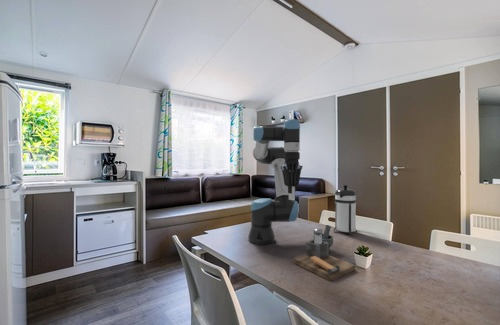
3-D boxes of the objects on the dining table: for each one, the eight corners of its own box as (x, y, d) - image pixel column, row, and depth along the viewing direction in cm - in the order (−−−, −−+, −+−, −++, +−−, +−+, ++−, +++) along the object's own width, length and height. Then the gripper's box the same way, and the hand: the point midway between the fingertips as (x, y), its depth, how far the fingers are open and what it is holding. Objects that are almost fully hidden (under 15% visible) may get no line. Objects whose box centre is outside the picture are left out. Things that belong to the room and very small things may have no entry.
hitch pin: (317, 257, 113) (317, 227, 113) (324, 260, 110) (324, 230, 110) (311, 259, 111) (311, 229, 111) (318, 262, 107) (318, 231, 107)
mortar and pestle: (326, 255, 116) (326, 230, 116) (309, 250, 123) (309, 226, 122) (337, 249, 123) (338, 226, 123) (321, 244, 130) (321, 222, 130)
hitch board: (293, 262, 107) (293, 244, 107) (316, 254, 117) (316, 238, 117) (331, 281, 91) (331, 260, 91) (355, 270, 100) (355, 251, 100)
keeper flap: (309, 259, 102) (309, 257, 102) (315, 257, 104) (315, 255, 104) (331, 273, 93) (331, 271, 93) (337, 270, 95) (338, 268, 95)
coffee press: (364, 235, 145) (364, 186, 145) (337, 235, 145) (337, 186, 145) (352, 227, 163) (352, 183, 162) (328, 227, 163) (328, 183, 162)
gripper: (287, 151, 111) (287, 202, 111) (306, 151, 118) (306, 199, 118) (276, 151, 117) (276, 200, 117) (295, 152, 124) (295, 197, 125)
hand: (291, 199), depth 118 cm, fingers closed
